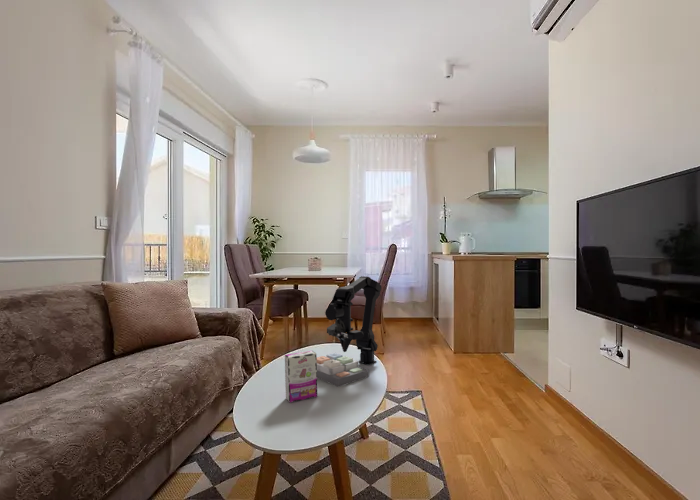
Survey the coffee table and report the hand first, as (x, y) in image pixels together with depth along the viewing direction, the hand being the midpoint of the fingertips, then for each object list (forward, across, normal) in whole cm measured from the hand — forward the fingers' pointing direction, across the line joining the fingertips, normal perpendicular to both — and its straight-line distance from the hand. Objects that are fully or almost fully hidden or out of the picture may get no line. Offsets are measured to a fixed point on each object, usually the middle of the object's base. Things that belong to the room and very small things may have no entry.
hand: (344, 351), depth 163 cm
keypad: (+10, -1, -4) cm, 10 cm away
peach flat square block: (+5, -7, -7) cm, 11 cm away
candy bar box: (+10, +9, -29) cm, 32 cm away
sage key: (+5, 0, 0) cm, 5 cm away
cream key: (+5, 0, -7) cm, 9 cm away
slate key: (+5, -7, 0) cm, 9 cm away
